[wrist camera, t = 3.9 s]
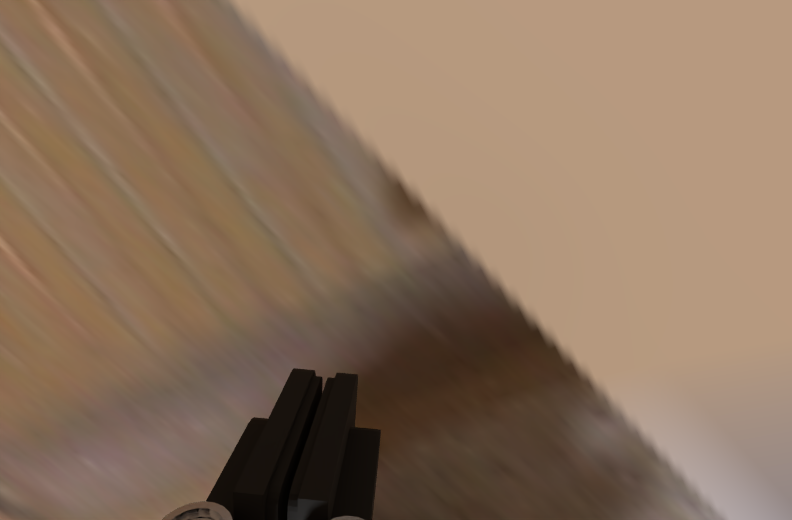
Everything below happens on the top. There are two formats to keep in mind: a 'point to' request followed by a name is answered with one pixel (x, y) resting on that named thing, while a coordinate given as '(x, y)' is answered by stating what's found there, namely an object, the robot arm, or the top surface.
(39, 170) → the top surface
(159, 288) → the top surface
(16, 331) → the top surface
